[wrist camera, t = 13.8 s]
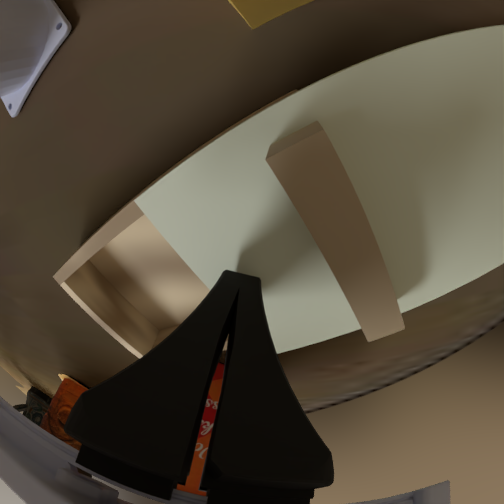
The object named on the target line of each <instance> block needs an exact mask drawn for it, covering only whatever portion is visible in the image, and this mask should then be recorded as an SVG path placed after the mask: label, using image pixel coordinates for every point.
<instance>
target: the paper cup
mask: <svg viewBox="0 0 504 504" xmlns="http://www.w3.org/2000/svg"><path fill="white" fill-rule="evenodd" d="M224 365H225V364H222V363H219V362H218V365H217V368H216V371H215V374H214V377H213V380H212V383H211V386H210V389H209V393H208V397H207V401H206V405H205V410H204V414H203V418H202V422H201V426H200V431H199V435H198V439H197V443H196V448H195V452H194V456H193V461H192V465H191V470H190V474H189V476H187V480H186V484H185V486H184V485H180V484H178V485H177V490H181V491H184V492H188V493H193V494H197V495H201V496H206V492H204V491H199V490H198V489H199V484H200V480H201V476H202V471H203V467H204V463H205V458H206V454H207V450H208V445H209V441H210V437H211V432H212V428H213V424H214V419H215V415H216V411H217V406H218V402H219V397H220V393H221V387H222V381H223V373H224Z"/></svg>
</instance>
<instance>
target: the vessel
mask: <svg viewBox="0 0 504 504" xmlns="http://www.w3.org/2000/svg"><path fill="white" fill-rule="evenodd" d="M59 377H60V378H61V380H62V383H61V385H60V387H59V388H58V390H57V392H56V394H55V396H54V397H53V399H52V401H51V403H50V406H49V408H48V410H47V412H46V413H45V415H44V417H43V419H42V422H41V424H40V426H39V427H41V428H42V429H44V430H45V431H47V432H48V433H50V434H51V435H53V436H55V437H56V438H58V439H59V440H61V441H63V442H65V443H66V444H68V445H70V446H71V447H73V448H75V449H77V450H80V447H81V445H82V444H81V443H80V442H78V441H77V440H75V439H74V438H72V437H71V436H69V435H68V434H66V433H65V431H64V429H63V428H64V425H65V423H66V421H67V418H68V416H69V414H70V411H71V409H72V407H73V406H74V404H75V403H76V401H77V400H78V398H79V397H80V395H81V394H82V393H83V392H84V391H86V390H88V389H87V388H85V387H84V386H82V385H81V384H79V383H78V382H77V381H76V380H74V379H73V378H71V377H69V376H67V375H64V374H62V375H61V374H59ZM77 470H78V472H79V473H80V474H83V475H85V476H88V477H90V478H92V475H91V474H89V473H87V472H85V471H83V470H82V469H80V468H78V467H77Z"/></svg>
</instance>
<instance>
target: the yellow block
mask: <svg viewBox="0 0 504 504" xmlns="http://www.w3.org/2000/svg"><path fill="white" fill-rule="evenodd" d="M228 1H229V2H230V3H231V4H232V6H233V7H234V8H235V9H236V10H237V11H238V12H239V14H240V15H241V16H242V17H243V18H244V19H245V21H246V22H247V23H248V24H249V25H250V27H251V28H252V29H255V28H257V27H259V26H261V25H263V24H264V23H266V22H268V21H270V20H272V19H274V18H276V17H278V16H280V15H282V14H284V13H286V12H288V11H291V10H293V9H295V8H297V7H300V6H302V5H304V4H307V3H309V2H311V1H314V0H228Z"/></svg>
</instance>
